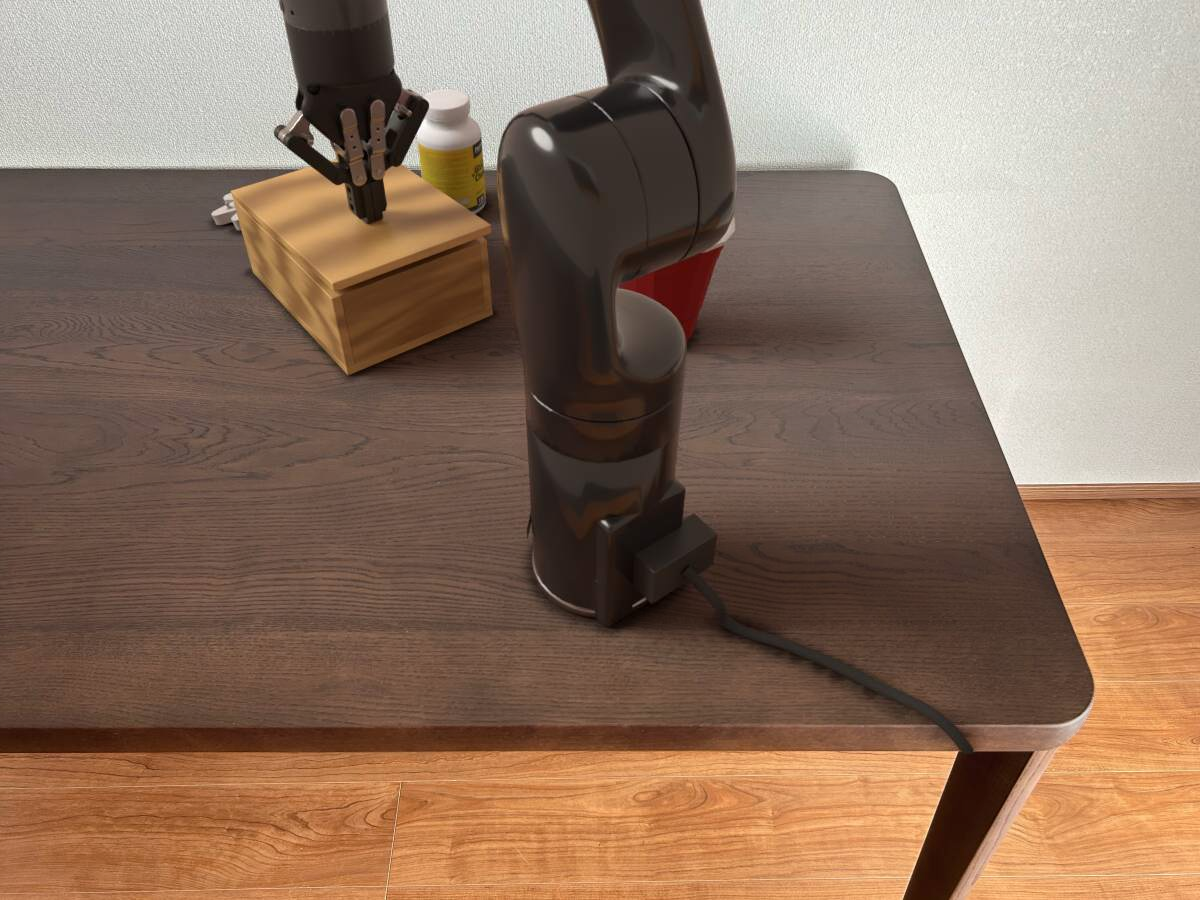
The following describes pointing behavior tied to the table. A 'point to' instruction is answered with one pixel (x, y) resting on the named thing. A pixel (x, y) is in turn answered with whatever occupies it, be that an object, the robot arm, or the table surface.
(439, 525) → the table surface
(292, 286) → the chest
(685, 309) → the plastic cup
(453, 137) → the pill bottle
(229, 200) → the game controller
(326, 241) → the lid
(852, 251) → the table surface
